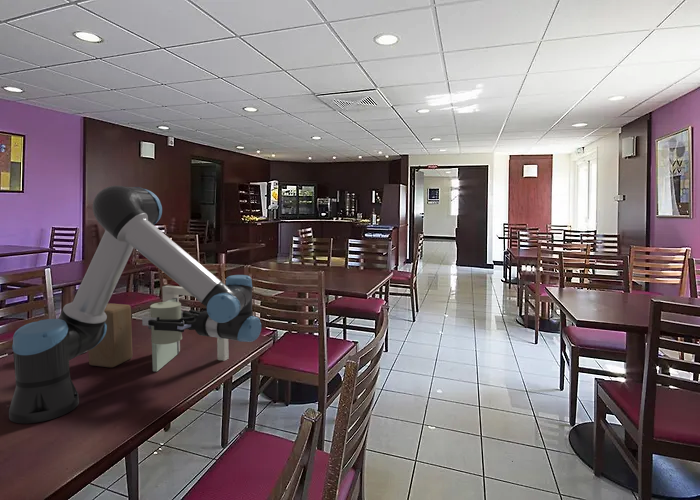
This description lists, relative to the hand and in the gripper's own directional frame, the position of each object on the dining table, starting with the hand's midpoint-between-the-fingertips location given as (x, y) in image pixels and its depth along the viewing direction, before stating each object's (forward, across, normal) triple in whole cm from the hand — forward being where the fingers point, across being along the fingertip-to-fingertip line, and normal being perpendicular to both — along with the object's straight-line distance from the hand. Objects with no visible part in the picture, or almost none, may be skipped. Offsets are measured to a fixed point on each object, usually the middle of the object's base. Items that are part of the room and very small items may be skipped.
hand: (155, 316), depth 134 cm
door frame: (+1, +19, -19) cm, 27 cm away
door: (+5, +9, -19) cm, 22 cm away
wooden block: (+23, +2, -19) cm, 30 cm away
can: (-5, 0, -7) cm, 9 cm away
